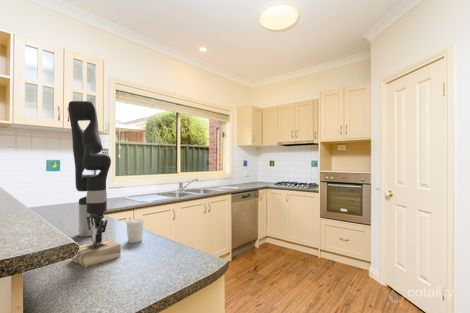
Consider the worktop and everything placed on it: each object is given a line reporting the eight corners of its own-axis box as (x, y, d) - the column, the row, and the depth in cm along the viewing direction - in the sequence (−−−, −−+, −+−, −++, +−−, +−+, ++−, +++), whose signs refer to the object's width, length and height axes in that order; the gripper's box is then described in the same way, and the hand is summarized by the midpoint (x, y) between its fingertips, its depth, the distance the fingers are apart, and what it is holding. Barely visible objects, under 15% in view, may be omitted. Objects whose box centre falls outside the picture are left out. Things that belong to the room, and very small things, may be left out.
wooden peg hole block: (72, 260, 100) (72, 247, 100) (106, 249, 111) (106, 238, 111) (85, 267, 93) (85, 254, 93) (120, 255, 104) (120, 243, 104)
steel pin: (91, 249, 102) (91, 225, 102) (98, 247, 104) (98, 223, 104) (94, 250, 100) (94, 226, 100) (101, 248, 103) (102, 224, 103)
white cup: (127, 239, 126) (127, 220, 127) (143, 237, 129) (143, 218, 129) (126, 244, 119) (126, 223, 119) (143, 242, 122) (143, 222, 122)
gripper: (79, 200, 104) (79, 241, 103) (95, 203, 95) (95, 247, 95) (98, 198, 110) (97, 236, 109) (114, 201, 101) (114, 242, 101)
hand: (96, 241), depth 102 cm, fingers closed on steel pin, 3 cm apart
